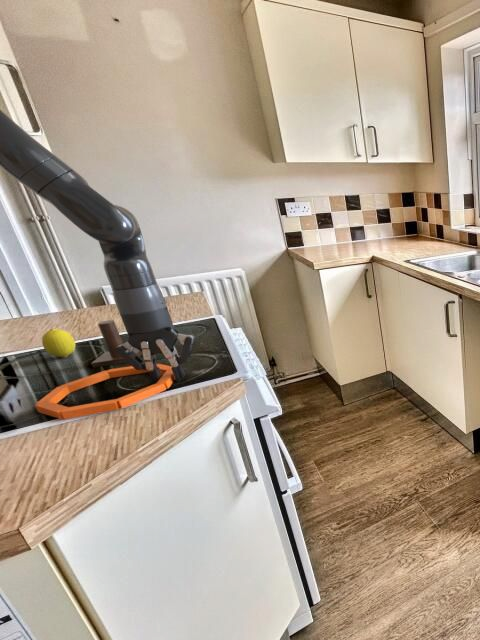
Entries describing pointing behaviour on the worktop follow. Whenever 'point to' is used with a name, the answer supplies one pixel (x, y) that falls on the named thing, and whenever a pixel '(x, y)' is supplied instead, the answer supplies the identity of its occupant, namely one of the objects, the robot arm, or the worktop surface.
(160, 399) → the worktop surface
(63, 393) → the ring
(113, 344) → the post
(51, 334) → the lemon
